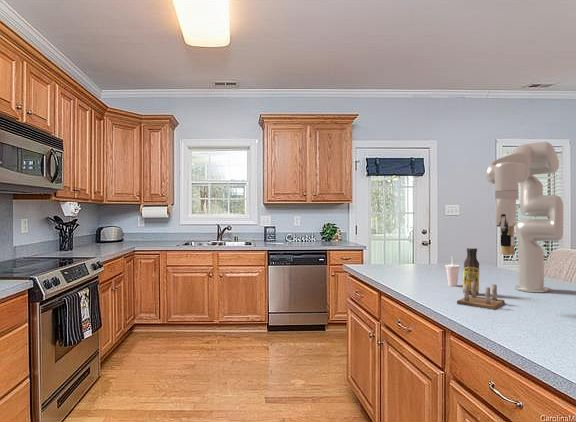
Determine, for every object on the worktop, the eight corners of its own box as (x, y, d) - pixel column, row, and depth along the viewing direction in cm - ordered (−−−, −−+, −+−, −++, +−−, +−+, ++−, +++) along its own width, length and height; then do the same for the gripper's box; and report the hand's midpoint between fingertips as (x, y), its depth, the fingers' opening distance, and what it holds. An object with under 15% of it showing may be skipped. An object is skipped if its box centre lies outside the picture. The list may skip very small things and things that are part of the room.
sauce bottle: (462, 294, 163) (461, 248, 163) (463, 291, 169) (462, 246, 169) (479, 295, 160) (478, 248, 160) (479, 293, 166) (479, 247, 166)
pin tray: (469, 298, 156) (469, 280, 156) (504, 303, 147) (504, 284, 147) (456, 304, 147) (456, 285, 147) (493, 309, 137) (493, 289, 138)
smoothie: (459, 284, 185) (458, 255, 185) (460, 287, 179) (460, 257, 179) (445, 284, 187) (444, 255, 187) (446, 286, 181) (445, 257, 181)
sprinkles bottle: (499, 254, 140) (499, 217, 140) (502, 253, 143) (501, 217, 143) (514, 255, 137) (513, 217, 137) (516, 253, 140) (515, 217, 140)
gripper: (501, 196, 149) (502, 243, 149) (488, 196, 136) (489, 247, 136) (523, 195, 144) (524, 244, 144) (512, 195, 131) (513, 248, 131)
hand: (507, 245), depth 140 cm, fingers closed on sprinkles bottle, 4 cm apart
